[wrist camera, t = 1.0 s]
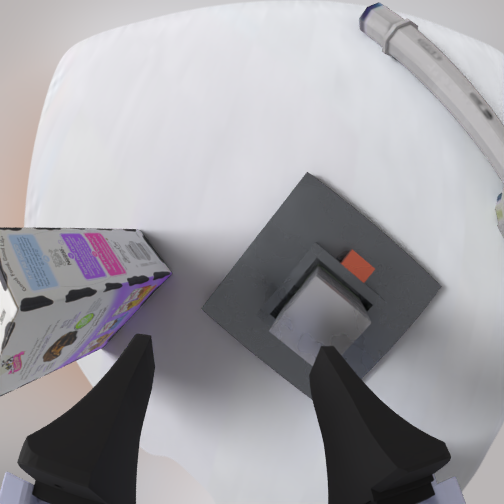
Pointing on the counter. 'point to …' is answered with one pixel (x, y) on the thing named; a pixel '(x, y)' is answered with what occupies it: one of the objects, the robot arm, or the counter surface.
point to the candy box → (68, 294)
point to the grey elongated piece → (440, 83)
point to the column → (320, 316)
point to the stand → (331, 259)
